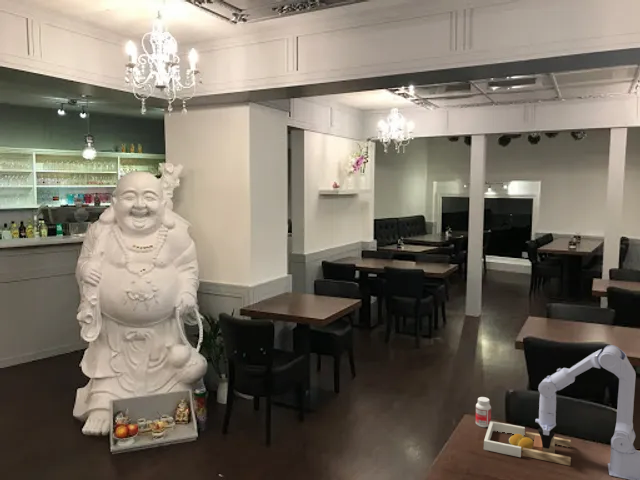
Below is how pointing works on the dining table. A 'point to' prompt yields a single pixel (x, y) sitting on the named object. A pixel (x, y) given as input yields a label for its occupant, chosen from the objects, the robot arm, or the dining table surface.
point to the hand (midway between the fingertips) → (546, 444)
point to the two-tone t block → (539, 446)
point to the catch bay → (503, 447)
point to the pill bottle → (483, 412)
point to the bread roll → (521, 441)
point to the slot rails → (546, 455)
